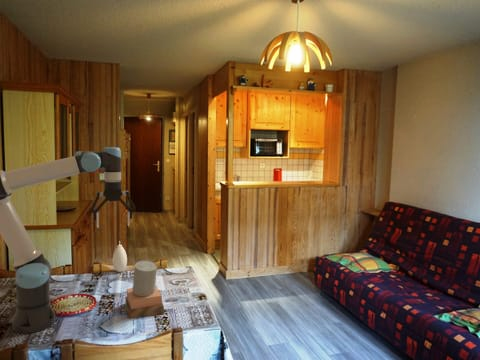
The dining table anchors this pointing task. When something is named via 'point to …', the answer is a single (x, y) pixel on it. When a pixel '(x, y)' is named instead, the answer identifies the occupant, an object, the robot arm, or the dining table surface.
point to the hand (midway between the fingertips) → (113, 226)
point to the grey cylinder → (144, 278)
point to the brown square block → (143, 299)
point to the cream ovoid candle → (119, 258)
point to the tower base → (143, 310)
